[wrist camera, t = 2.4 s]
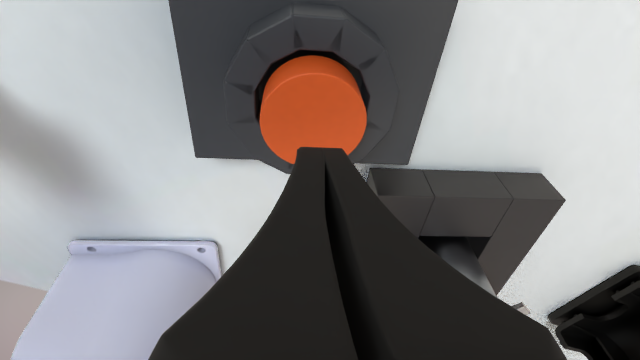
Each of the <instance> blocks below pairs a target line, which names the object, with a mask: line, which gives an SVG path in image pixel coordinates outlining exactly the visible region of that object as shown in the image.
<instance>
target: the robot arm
mask: <svg viewBox="0 0 640 360" xmlns="http://www.w3.org/2000/svg"><path fill="white" fill-rule="evenodd" d="M67 249H68V251H69V252H70V254H71V255H70V257H69V259H68V260H67V262H66V263H65V265H64V267H63V268H62V270H61V271H60V273H59V275H58V276H57V278H56V279H55V281H54V283H53V284H52V286H51V288H50V289H49V291H48V292H47V294H46V296H45V297H44V299H43V301H42V302H41V304H40V305H39V307H38V308H37V310H36V312H35V313H34V315H33V316H32V318H31V320H30V321H29V323H28V324H27V326H26V328H25V329H24V331H23V333H22V334H21V336H20V338H19V340H18V341H17V344H16V346H15V348H14V351H13V353H12V356H11V359H10V360H567V359H566V357H565V355H564V354H563V352H562V350H561V349H560V347H559V345H558V344H557V342H556V341H555V339H554V337H553V336H552V334H551V333H550V332H549V330H548V328H546V327H545V326H543V325H541V324H540V323H538V322H536V321H535V320H533V319H531V318H530V317H528V316H526V315H525V314H523V313H521V312H520V311H518V310H516V309H515V308H513V307H511V306H510V305H508V304H506V303H505V302H503V301H501V300H500V299H498V298H497V297H495V296H493V295H492V294H490V293H489V292H488V291H486V290H485V289H483V288H482V287H480V286H479V285H477V284H476V283H474V282H473V281H471V280H470V279H468V278H467V277H466V276H464V275H463V274H462V273H460V272H459V271H457V270H456V269H455V268H453V267H452V266H451V265H449V264H448V263H447V262H446V261H444V260H443V259H442V258H441V257H439V256H438V255H437V254H436V253H434V252H433V251H432V250H431V249H429V248H428V247H427V246H426V245H425V244H424V243H422V242H421V241H420V240H419V239H418V238H417V237H416V236H415V235H414V234H413V233H411V232H410V231H409V230H408V229H407V228H406V227H405V226H404V225H403V224H402V223H401V222H400V221H399V220H398V219H397V218H396V217H395V216H394V215H393V214H392V212H391V211H390V210H389V209H388V208H387V207H386V206H385V205H384V204H383V202H382V201H381V200H380V199H379V198H378V196H377V195H376V194H375V193H374V191H373V190H372V189H371V188H370V186H369V185H368V184H367V183H366V181H365V180H364V179H363V177H362V176H361V174H360V173H359V172H358V170H357V169H356V167H355V166H354V165H353V163H352V162H351V160H350V159H349V157H348V156H347V154H346V153H345V151H344V150H343V149H342V148H322V147H300V148H299V149H297V155H296V160H295V164H294V167H293V169H292V172H291V175H290V177H289V179H288V181H287V184H286V186H285V188H284V190H283V192H282V194H281V196H280V198H279V200H278V201H277V203H276V205H275V207H274V209H273V210H272V212H271V214H270V215H269V217H268V218H267V220H266V222H265V223H264V225H263V226H262V227H261V229H260V230H259V232H258V233H257V235H256V236H255V237H254V239H253V240H252V241H251V243H250V244H249V245H248V246H247V248H246V249H245V250H244V252H243V253H242V254H241V255H240V257H239V258H238V259H237V260H236V261H235V262H234V264H233V265H232V266H231V267H230V268H229V269H228V270H227V271H226V272H225V273H224V275H223V276H222V274H221V267H220V261H219V254H218V248H217V245H216V244H215V243H214V242H210V241H117V240H72V241H70V243H69V244H68V246H67Z"/></svg>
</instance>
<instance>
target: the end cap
mask: <svg viewBox="0 0 640 360" xmlns="http://www.w3.org/2000/svg"><path fill="white" fill-rule="evenodd" d="M548 318H549V320H550V321H551V323H552V324H555V325H559V326H558V327H557V328H556V331H555V332H556V335H557V337H558V339H559V341H560V344H561V345H563V347H564V348H565V349H569V350H573V351H577V352H581V353H582V354H584V355H585V356H586V357H587V359H588V360H640V266H637V265H635V266H631V267H628V268H627V269H625V270H623V271H622V272H620V273H618V274H617V275H615V276H613V277H612V278H610V279H608V280H606V281H605V282H603V283H601V284H600V285H598V286H596V287H595V288H593V289H591V290H590V291H588V292H586V293H585V294H583V295H581V296H580V297H578V298H576V299H575V300H573V301H571V302H570V303H568V304H566V305H565V306H563V307H561V308H559V309H558V310H556V311H554V312H553V313H551V314H550V315H549V316H548Z"/></svg>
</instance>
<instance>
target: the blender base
mask: <svg viewBox="0 0 640 360" xmlns="http://www.w3.org/2000/svg"><path fill="white" fill-rule="evenodd" d="M367 184H368V185H369V186H370V188H371V189H372V190H373V191H374V193H375V194H376V195H377V196H378V198H379V199H380V200H381V201H382V202H383V204H384V205H385V206H386V207H387V208H388V209H389V210H390V211H391V212H392V214H393V215H394V216H395V217H396V218H397V219H398V220H399V221H400V222H401V223H402V224H403V225H404V226H405V227H406V228H407V229H408V230H409V231H410V232H411V233H413V234H414V235H415V236H416V237H417V238H418V237H419V235H420V236H466V238H467V240H468V242H469V244H470V246H471V248H472V250H473V251H474V253H475V255H476V257H477V259H478V261H479V263H480V265H481V267H482V269H483V271H484V273H485V275H486V277H487V279H488V281H489V283H490V285H491V287H492V288H493V290H494V292H495V294H496V296H497V294H498V293H499V292H500V290H501V289H502V287H503V286H504V285H505V283H506V282H507V281H508V279H509V278H510V276H511V275H512V274H513V272H514V271H515V270H516V268H517V267H518V265H519V264H520V263H521V261H522V260H523V258H524V257H525V256H526V254H527V253H528V252H529V250H530V249H531V247H532V246H533V245H534V243H535V242H536V241H537V239H538V238H539V236H540V235H541V234H542V232H543V231H544V230H545V228H546V227H547V225H548V224H549V223H550V221H551V220H552V219H553V217H554V216H555V214H556V213H557V212H558V210H559V209H560V208H561V206H562V205H563V203H564V202H565V199H564V198H563V197H562V195H561V194H560V193H559V192H558V191H557V190H556V189H555V188H554V187H553V186H552V184H551V183H550V182H549V181H548V180H547V179H546V178H545V177H544V176H543V175H542V174H540V173H510V172H478V171H448V170H414V169H384V168H370V171H369V176H368V180H367Z"/></svg>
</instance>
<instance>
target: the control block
mask: <svg viewBox="0 0 640 360" xmlns="http://www.w3.org/2000/svg"><path fill="white" fill-rule="evenodd" d="M457 3H458V0H169V6H170V12H171V18H172V23H173V29H174V35H175V41H176V47H177V53H178V58H179V64H180V70H181V76H182V82H183V87H184V93H185V99H186V105H187V111H188V116H189V122H190V128H191V134H192V140H193V145H194V151H195V157H196V158H225V159H254V160H260V161H262V162H264V163H266V164H268V165H270V166H272V167H274V168H276V169H278V170H280V171H282V172H284V173H286V174H291V172H292V169H293V167H294V164H291V163H289V162H287V161H285V160H283V159H282V158H280V157H279V156H277V155H276V154H275V153H274V152H273V151H272V150H271V149H270V148H269V146H268V145H267V144H266V142H265V140H264V138H263V136H262V133H261V129H260V111H261V105H262V98H263V93H264V89H265V86H266V83H267V81H268V79H269V78H270V76H271V75H272V74H273V72H274V71H275V70H276V69H277V68H279V67H280V66H281V65H282V64H284V63H286V62H287V61H289V60H292V59H294V58H297V57H301V56H308V55H316V56H323V57H327V58H330V59H332V60H335V61H337V62H338V63H340V64H342V65H343V66H344V67H345V68H347V69H348V71H349V72H350V73H351V74H352V75H353V77H354V78H355V80H356V82H357V85H358V88H359V90H360V93H361V96H362V99H363V102H364V105H365V108H366V113H367V123H366V129H365V132H364V135H363V137H362V139H361V141H360V143H359V144H358V145H357V147H356V148H355V149H354V150H353V151H352V152H351V153H350V154H349V155H347V156H348V157H349V159H350V160H351V162H352V163H353V164H354V163H371V164H400V165H408V162H409V159H410V156H411V153H412V149H413V146H414V143H415V140H416V136H417V133H418V130H419V127H420V123H421V120H422V117H423V114H424V110H425V107H426V104H427V101H428V97H429V94H430V91H431V88H432V84H433V81H434V78H435V75H436V71H437V68H438V65H439V62H440V58H441V55H442V52H443V49H444V45H445V42H446V39H447V36H448V32H449V29H450V26H451V23H452V19H453V16H454V13H455V10H456V6H457Z"/></svg>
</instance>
